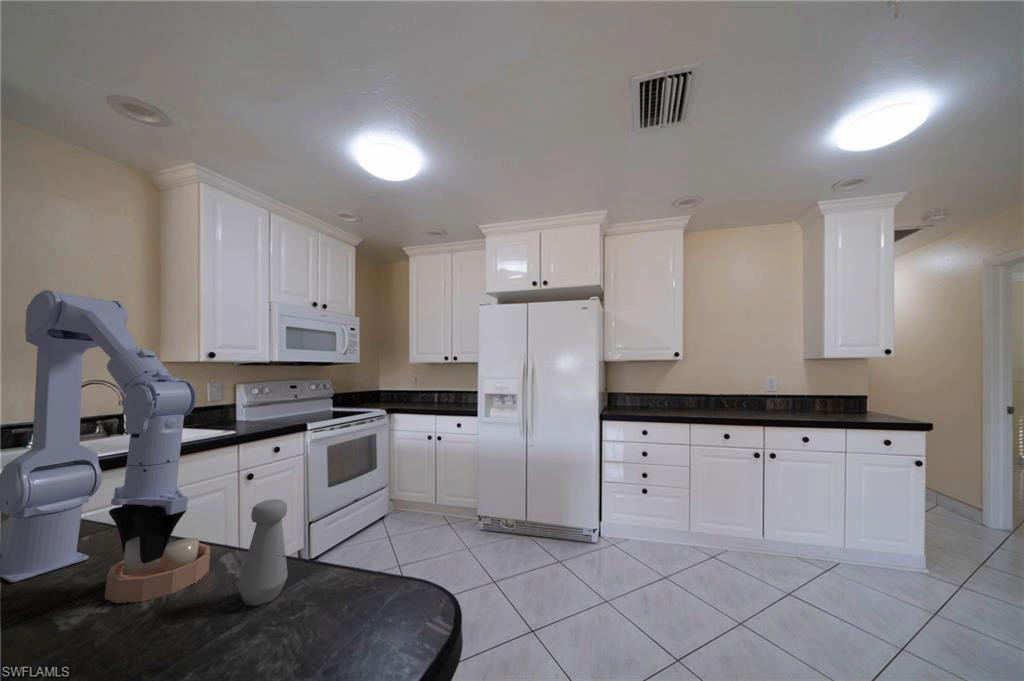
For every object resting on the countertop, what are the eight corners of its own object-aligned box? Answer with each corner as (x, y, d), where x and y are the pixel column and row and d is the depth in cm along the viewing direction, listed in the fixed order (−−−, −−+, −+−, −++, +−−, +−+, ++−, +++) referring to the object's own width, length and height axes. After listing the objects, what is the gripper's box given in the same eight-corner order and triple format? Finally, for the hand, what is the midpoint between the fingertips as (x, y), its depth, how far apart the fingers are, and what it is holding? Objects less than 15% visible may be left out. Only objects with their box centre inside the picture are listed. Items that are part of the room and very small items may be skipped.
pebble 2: (156, 573, 57) (159, 546, 58) (186, 561, 61) (189, 536, 61) (171, 579, 56) (174, 551, 56) (202, 566, 59) (204, 540, 60)
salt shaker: (261, 613, 49) (269, 510, 50) (225, 606, 50) (234, 507, 51) (295, 588, 55) (302, 497, 56) (262, 583, 56) (270, 494, 57)
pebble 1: (150, 559, 57) (153, 531, 57) (167, 563, 55) (170, 535, 56) (115, 571, 53) (119, 542, 53) (132, 577, 51) (136, 547, 52)
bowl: (89, 591, 53) (91, 569, 53) (181, 556, 63) (183, 538, 64) (133, 610, 49) (136, 586, 49) (224, 570, 59) (226, 550, 60)
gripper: (90, 462, 54) (78, 559, 53) (147, 473, 49) (135, 581, 48) (151, 453, 61) (141, 539, 60) (207, 462, 56) (198, 557, 54)
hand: (143, 557), depth 54 cm, fingers closed on pebble 1, 4 cm apart
